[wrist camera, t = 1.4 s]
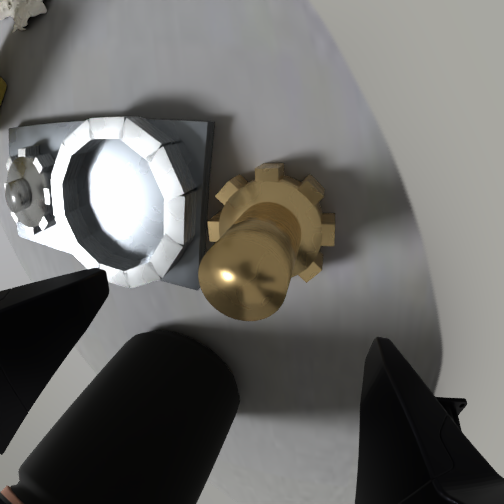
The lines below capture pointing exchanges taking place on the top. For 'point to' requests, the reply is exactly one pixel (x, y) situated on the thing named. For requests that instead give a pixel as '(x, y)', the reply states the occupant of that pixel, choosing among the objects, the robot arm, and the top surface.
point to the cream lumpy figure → (21, 11)
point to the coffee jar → (137, 429)
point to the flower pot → (2, 89)
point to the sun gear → (30, 189)
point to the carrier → (127, 194)
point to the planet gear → (263, 242)
